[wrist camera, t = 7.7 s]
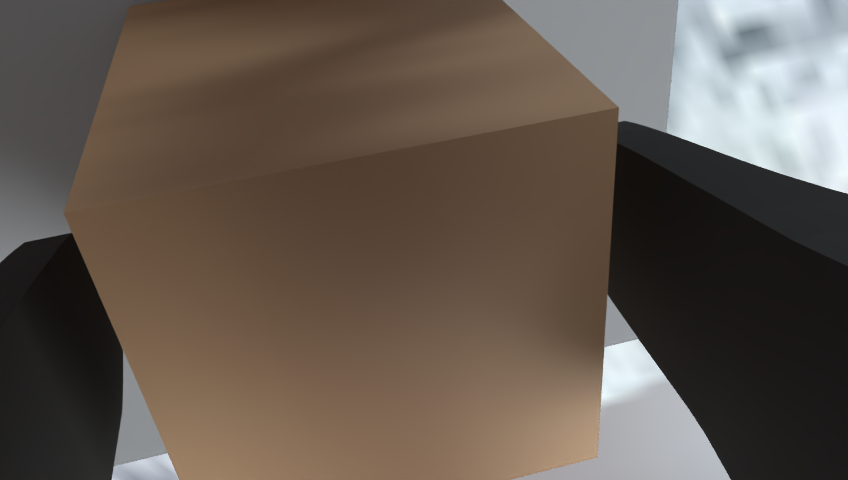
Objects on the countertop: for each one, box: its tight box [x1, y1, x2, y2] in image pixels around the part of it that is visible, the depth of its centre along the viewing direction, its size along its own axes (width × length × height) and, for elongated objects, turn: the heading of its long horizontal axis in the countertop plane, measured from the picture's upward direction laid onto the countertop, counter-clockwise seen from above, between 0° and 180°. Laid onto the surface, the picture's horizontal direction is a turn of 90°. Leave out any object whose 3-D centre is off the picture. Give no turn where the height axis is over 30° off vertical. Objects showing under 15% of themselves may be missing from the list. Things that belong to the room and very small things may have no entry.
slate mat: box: [0, 0, 678, 466], centre depth 13 cm, size 13×13×1 cm
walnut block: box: [64, 0, 619, 480], centre depth 11 cm, size 5×5×6 cm
